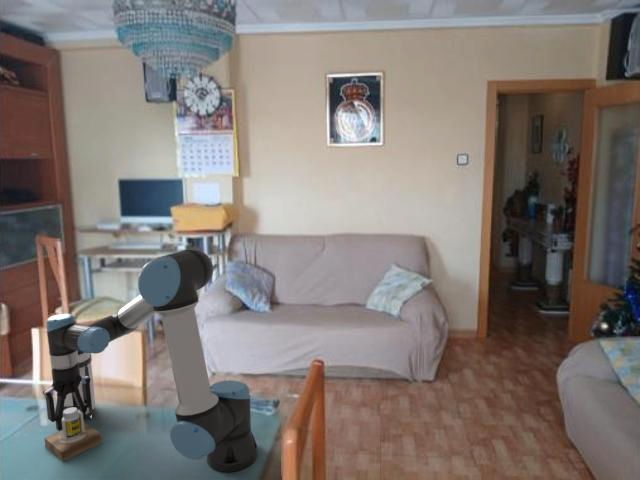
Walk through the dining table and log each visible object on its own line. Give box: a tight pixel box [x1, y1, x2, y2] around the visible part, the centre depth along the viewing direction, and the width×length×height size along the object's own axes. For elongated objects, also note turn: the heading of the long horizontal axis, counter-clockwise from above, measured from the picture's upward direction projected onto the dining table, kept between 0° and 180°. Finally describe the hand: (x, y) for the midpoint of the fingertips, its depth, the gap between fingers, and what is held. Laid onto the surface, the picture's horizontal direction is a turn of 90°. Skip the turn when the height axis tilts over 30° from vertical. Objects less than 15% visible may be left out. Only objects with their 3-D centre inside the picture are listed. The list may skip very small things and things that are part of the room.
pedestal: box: [43, 422, 103, 462], centre depth 154 cm, size 12×12×3 cm
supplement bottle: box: [63, 407, 81, 439], centre depth 153 cm, size 5×5×8 cm
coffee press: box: [48, 351, 96, 419], centre depth 168 cm, size 17×16×30 cm
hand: (72, 434), depth 153 cm, fingers closed on supplement bottle, 5 cm apart
